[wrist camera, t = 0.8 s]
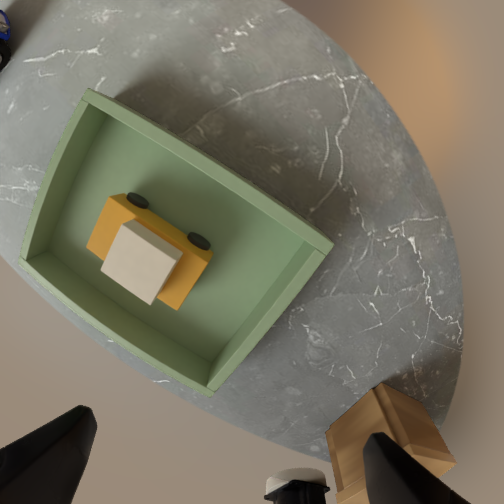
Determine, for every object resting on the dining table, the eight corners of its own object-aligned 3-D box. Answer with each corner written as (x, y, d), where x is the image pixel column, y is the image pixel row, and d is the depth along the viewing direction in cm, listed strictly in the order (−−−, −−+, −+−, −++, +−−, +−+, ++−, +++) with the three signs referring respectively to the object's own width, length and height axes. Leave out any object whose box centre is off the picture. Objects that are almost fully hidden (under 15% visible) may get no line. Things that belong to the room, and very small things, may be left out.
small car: (218, 246, 19) (206, 267, 15) (185, 296, 20) (168, 327, 16) (129, 187, 18) (97, 193, 14) (103, 241, 19) (70, 258, 15)
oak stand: (371, 447, 26) (391, 508, 17) (322, 431, 25) (337, 504, 16) (423, 403, 24) (457, 463, 15) (378, 380, 23) (414, 454, 14)
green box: (216, 369, 23) (210, 398, 19) (43, 250, 20) (17, 263, 17) (322, 231, 20) (335, 244, 16) (112, 98, 17) (87, 87, 14)
